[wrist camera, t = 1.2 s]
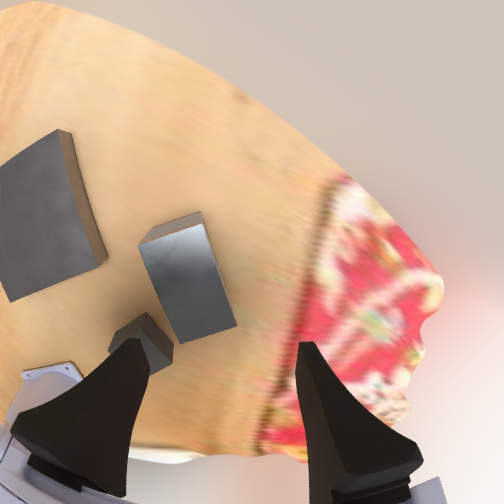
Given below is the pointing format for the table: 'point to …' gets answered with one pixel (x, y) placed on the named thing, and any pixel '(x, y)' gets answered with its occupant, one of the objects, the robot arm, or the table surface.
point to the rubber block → (147, 342)
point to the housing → (187, 278)
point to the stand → (45, 218)
